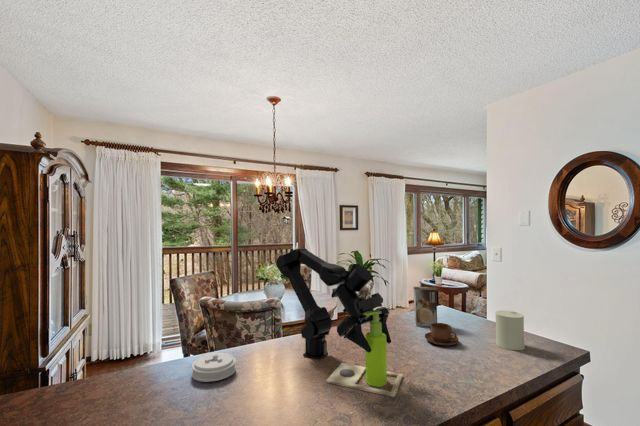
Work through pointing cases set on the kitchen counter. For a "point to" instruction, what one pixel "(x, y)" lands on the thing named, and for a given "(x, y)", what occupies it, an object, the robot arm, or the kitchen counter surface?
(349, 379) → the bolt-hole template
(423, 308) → the coffee box
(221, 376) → the lid
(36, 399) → the kitchen counter surface
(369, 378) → the soap dispenser
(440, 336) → the cup and saucer
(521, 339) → the can
